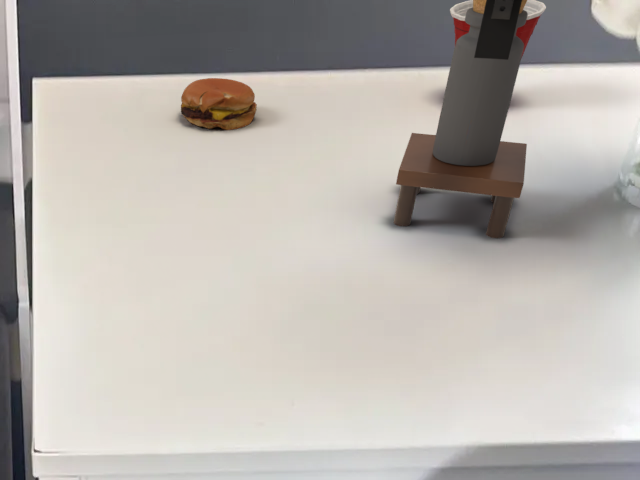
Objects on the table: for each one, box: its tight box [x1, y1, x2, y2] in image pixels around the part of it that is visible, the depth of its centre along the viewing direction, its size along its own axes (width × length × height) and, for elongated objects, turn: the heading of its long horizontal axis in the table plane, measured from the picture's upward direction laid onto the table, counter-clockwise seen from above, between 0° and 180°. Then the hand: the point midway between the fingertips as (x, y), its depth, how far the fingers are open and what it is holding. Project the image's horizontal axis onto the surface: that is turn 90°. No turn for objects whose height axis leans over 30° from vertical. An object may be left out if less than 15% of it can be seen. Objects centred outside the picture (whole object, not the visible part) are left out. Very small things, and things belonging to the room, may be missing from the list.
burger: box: [180, 77, 258, 131], centre depth 121 cm, size 10×9×5 cm
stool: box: [393, 132, 528, 239], centre depth 95 cm, size 11×11×6 cm
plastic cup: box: [449, 0, 547, 60], centre depth 120 cm, size 11×11×12 cm
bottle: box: [433, 0, 528, 166], centre depth 88 cm, size 6×6×15 cm
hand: (495, 38), depth 86 cm, fingers open, 13 cm apart
